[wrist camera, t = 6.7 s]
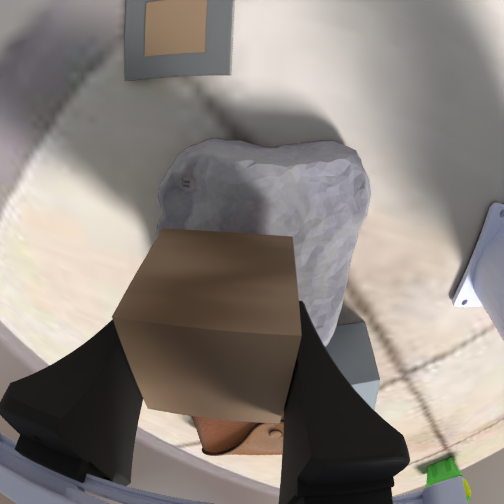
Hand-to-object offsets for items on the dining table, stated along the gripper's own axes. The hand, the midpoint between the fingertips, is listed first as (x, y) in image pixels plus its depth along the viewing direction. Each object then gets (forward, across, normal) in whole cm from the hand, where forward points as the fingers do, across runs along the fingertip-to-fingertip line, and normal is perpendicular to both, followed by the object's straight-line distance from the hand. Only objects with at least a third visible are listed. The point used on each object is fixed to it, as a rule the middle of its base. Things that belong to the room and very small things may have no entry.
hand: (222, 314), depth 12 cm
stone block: (+6, -1, 0) cm, 7 cm away
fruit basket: (+6, -42, +49) cm, 65 cm away
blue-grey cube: (+6, -7, +9) cm, 13 cm away
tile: (+6, +3, -11) cm, 13 cm away
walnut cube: (+2, 0, 0) cm, 2 cm away
